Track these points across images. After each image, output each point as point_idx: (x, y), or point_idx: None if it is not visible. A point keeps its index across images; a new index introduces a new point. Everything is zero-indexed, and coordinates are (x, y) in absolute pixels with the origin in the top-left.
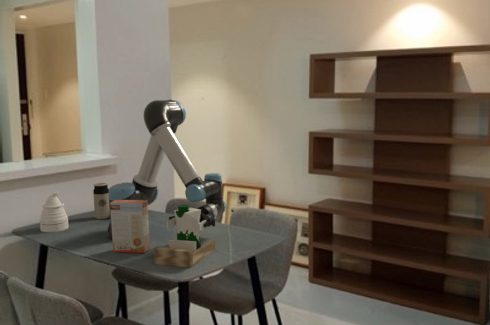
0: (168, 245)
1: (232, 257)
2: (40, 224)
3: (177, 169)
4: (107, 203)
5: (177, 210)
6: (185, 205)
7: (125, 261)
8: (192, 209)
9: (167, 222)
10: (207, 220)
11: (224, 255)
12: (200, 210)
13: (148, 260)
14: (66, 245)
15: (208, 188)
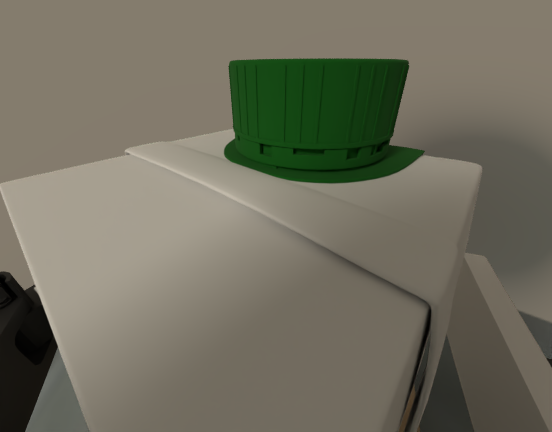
0: (411, 402)
1: (53, 361)
2: None
3: None
4: None
5: (425, 165)
6: (288, 66)
7: (541, 335)
8: (151, 199)
9: (464, 257)
10: (26, 292)
11: (70, 401)
12: (30, 185)
13: (446, 342)
14: None
15: None
